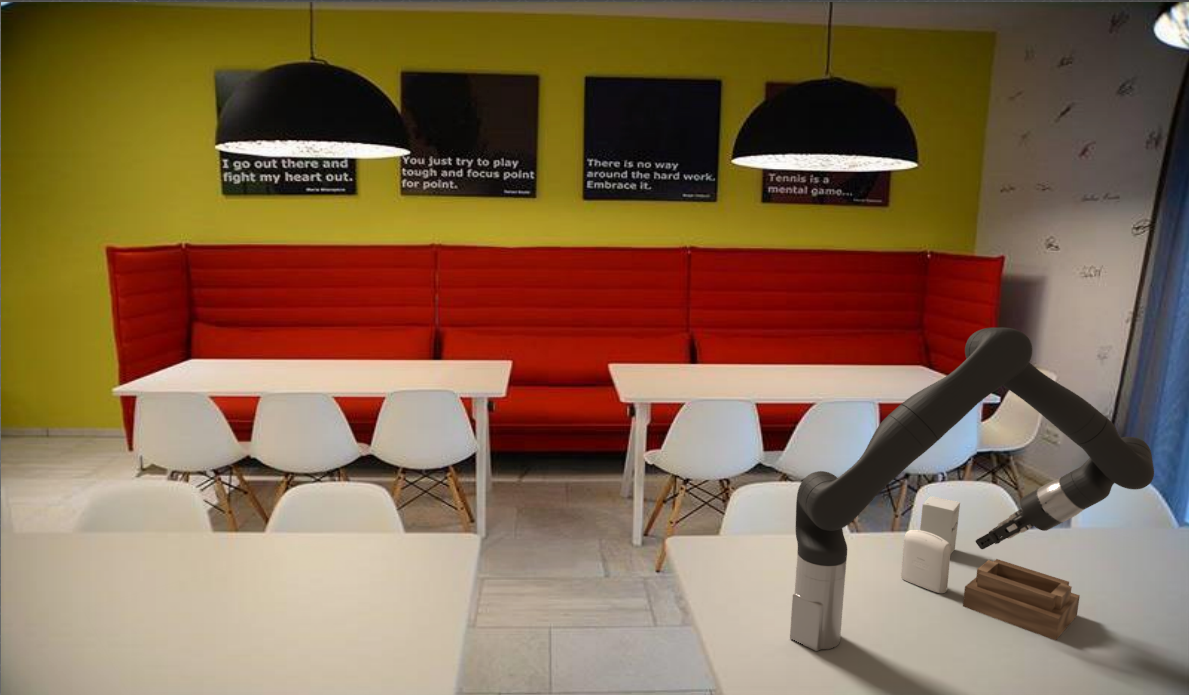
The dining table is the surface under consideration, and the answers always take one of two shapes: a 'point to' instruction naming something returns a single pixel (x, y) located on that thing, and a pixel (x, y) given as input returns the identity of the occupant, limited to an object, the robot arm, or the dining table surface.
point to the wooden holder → (1022, 598)
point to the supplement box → (941, 519)
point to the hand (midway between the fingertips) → (987, 539)
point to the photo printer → (926, 560)
